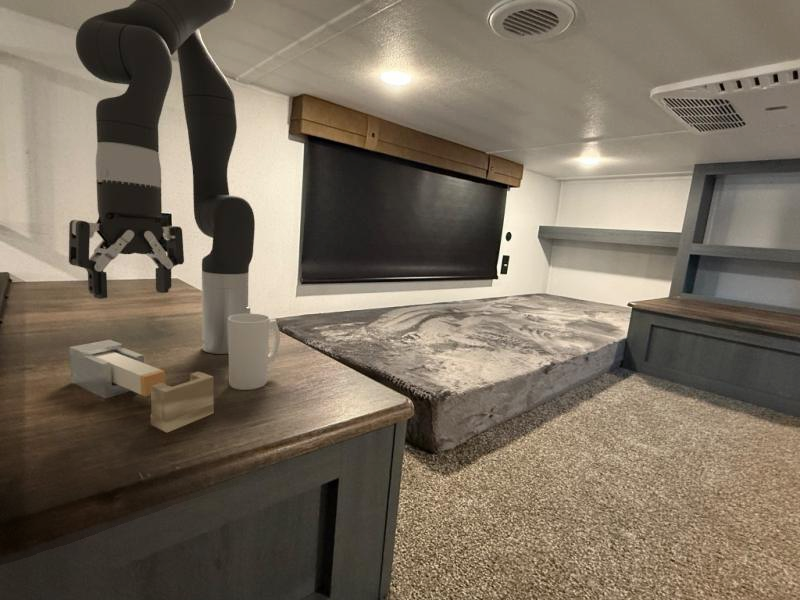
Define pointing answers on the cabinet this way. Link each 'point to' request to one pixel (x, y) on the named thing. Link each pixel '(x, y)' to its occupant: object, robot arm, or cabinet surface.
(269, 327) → the mug
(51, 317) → the cabinet surface
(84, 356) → the grey slotted channel block
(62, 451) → the cabinet surface
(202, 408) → the socket
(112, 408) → the cabinet surface
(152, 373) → the cream square bar
